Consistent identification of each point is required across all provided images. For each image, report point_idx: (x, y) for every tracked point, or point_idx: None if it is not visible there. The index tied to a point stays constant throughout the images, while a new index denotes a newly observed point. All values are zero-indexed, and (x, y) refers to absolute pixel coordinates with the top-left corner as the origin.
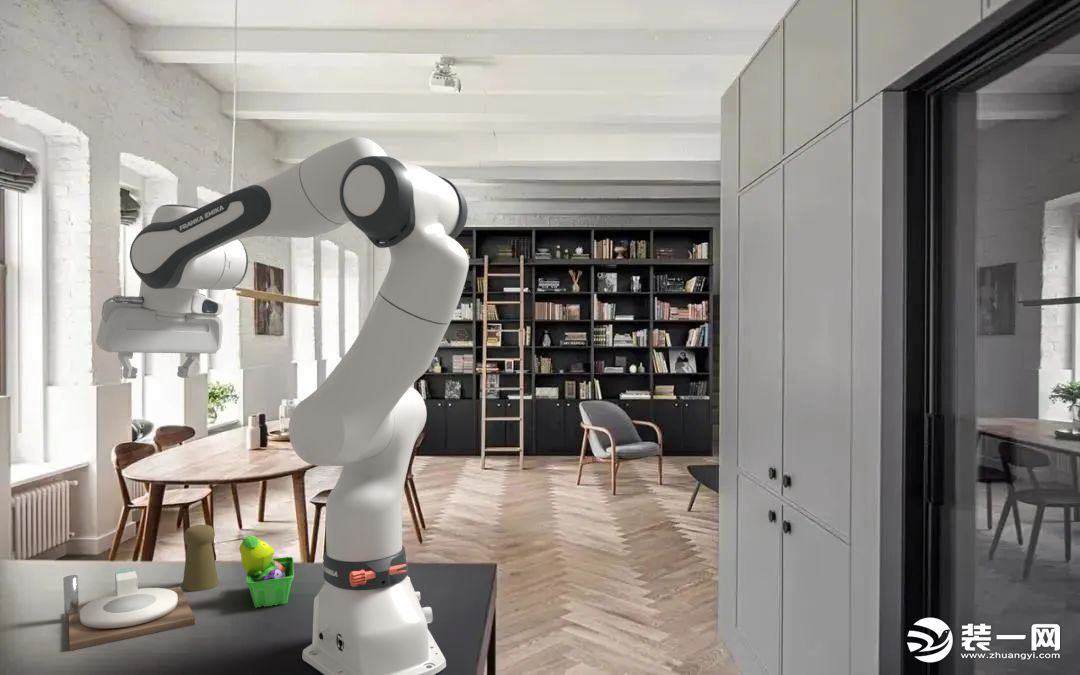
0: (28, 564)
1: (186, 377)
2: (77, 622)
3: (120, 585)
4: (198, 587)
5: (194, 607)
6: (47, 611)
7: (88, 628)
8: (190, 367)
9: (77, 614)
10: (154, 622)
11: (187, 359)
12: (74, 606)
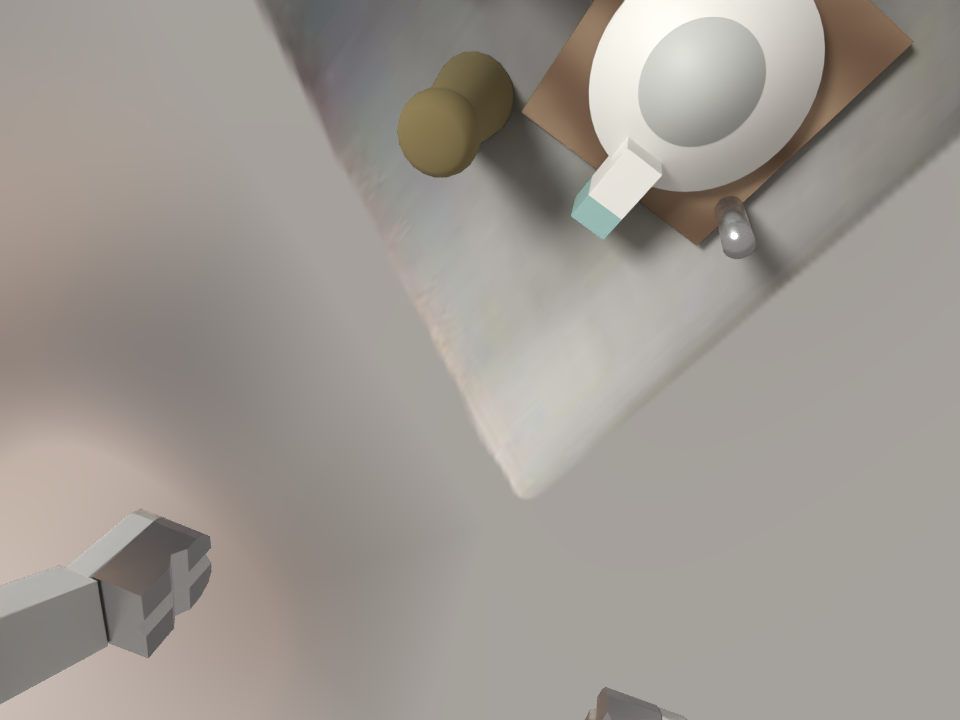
0: (521, 477)
1: (165, 519)
2: None
3: (656, 166)
4: (500, 70)
5: None
6: (696, 285)
7: None
8: (66, 577)
9: (732, 191)
10: None
11: (10, 691)
12: (736, 203)
